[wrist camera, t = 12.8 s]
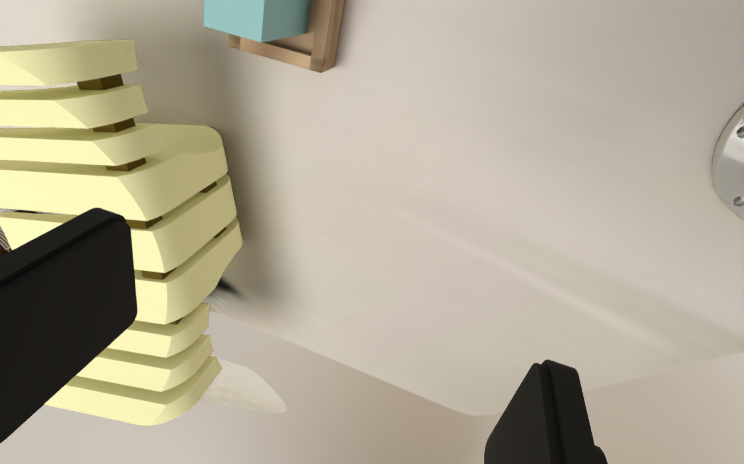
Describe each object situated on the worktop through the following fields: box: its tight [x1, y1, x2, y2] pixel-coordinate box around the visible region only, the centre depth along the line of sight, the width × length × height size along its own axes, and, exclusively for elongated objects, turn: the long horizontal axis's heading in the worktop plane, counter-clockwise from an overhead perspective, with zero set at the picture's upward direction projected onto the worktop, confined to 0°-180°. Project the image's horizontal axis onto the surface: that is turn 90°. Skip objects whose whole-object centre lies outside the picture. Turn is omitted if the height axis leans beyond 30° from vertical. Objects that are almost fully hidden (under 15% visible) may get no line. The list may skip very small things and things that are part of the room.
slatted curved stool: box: [0, 40, 243, 425], centre depth 39 cm, size 30×16×18 cm, turn 2°
